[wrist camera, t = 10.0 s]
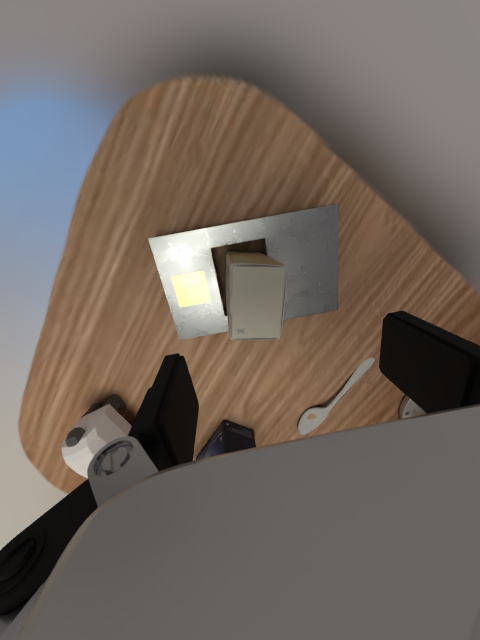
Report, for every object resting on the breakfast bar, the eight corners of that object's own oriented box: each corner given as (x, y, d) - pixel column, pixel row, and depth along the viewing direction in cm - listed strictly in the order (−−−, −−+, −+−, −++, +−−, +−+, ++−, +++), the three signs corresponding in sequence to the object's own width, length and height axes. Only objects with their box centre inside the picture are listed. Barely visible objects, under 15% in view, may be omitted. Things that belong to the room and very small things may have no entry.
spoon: (289, 422, 40) (291, 430, 38) (377, 336, 34) (384, 341, 33) (305, 431, 41) (309, 439, 40) (393, 349, 36) (401, 355, 34)
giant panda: (82, 402, 34) (34, 464, 25) (113, 386, 33) (75, 445, 24) (142, 458, 39) (120, 525, 30) (169, 445, 39) (155, 510, 30)
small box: (222, 417, 37) (223, 484, 28) (255, 429, 39) (267, 496, 29) (193, 457, 40) (186, 530, 31) (225, 467, 42) (227, 539, 33)
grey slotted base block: (325, 205, 26) (338, 203, 23) (327, 302, 31) (338, 310, 28) (155, 237, 26) (147, 238, 23) (183, 329, 31) (180, 340, 28)
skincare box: (257, 299, 30) (281, 343, 19) (224, 299, 29) (229, 344, 18) (260, 248, 27) (290, 264, 16) (225, 247, 27) (230, 263, 16)
